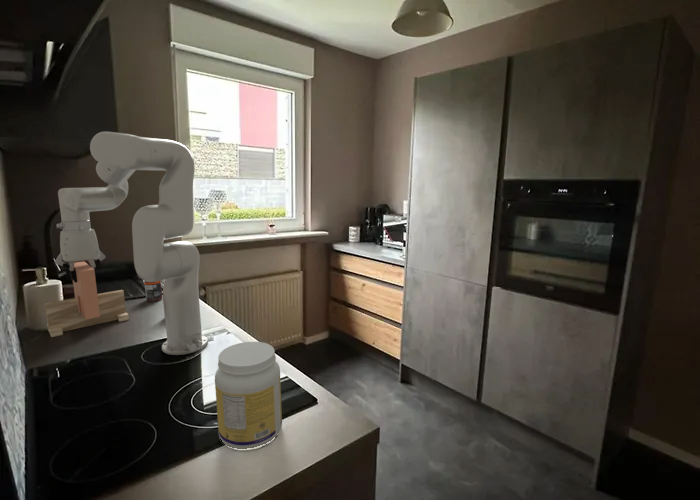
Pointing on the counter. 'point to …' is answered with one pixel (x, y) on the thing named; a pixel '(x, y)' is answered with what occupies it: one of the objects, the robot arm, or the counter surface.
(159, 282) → the supplement bottle
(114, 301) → the slotted stand
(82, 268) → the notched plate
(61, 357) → the counter surface
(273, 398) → the supplement tub
